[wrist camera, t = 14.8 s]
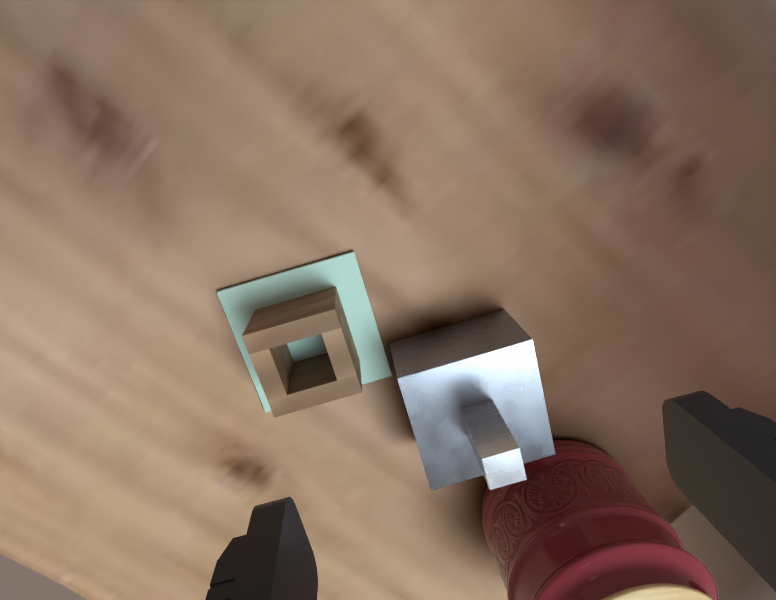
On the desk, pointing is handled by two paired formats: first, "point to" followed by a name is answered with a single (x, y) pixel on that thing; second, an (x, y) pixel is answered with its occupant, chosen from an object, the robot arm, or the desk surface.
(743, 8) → the desk surface
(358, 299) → the mat
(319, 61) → the desk surface
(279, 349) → the hollow wooden block
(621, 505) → the canister
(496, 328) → the block
